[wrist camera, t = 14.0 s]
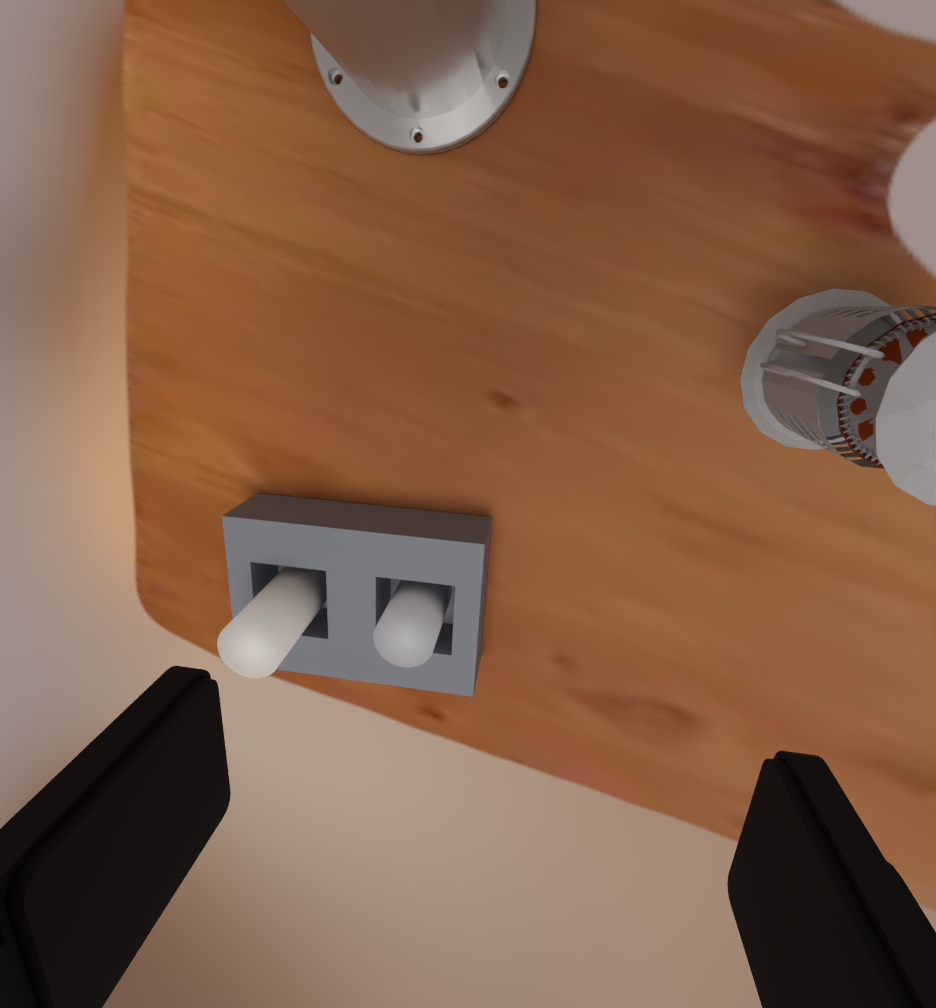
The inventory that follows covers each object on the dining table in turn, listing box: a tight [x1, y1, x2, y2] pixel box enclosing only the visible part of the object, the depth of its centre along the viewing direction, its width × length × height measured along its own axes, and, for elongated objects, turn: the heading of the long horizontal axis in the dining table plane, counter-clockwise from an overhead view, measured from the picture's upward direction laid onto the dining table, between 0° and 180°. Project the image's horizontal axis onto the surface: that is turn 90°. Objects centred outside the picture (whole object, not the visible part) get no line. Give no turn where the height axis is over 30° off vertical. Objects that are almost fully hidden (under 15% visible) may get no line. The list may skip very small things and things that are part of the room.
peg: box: [217, 566, 327, 678], centre depth 38 cm, size 4×4×10 cm
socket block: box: [222, 493, 492, 697], centre depth 40 cm, size 12×18×8 cm, turn 87°
